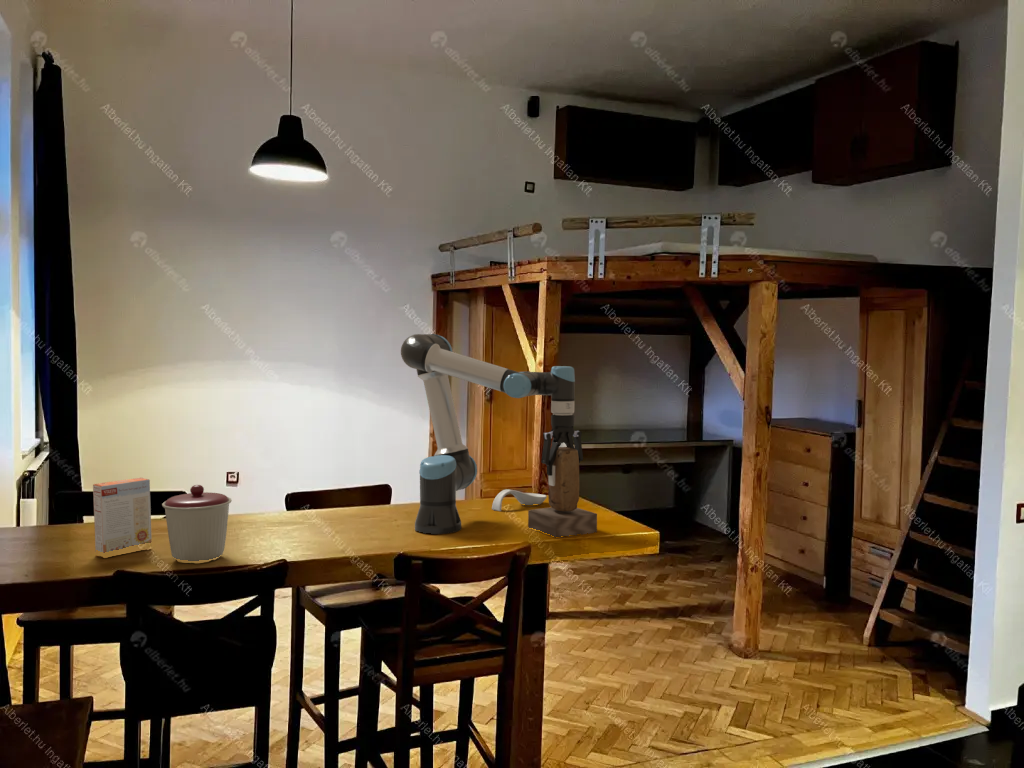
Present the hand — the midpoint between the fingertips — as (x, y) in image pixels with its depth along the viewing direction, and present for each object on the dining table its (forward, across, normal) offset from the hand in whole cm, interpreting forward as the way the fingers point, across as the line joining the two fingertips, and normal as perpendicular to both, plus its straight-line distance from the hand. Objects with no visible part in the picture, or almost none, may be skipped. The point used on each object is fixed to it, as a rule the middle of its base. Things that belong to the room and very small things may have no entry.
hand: (562, 484), depth 262 cm
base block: (+15, 0, 0) cm, 15 cm away
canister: (+16, -108, +23) cm, 111 cm away
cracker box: (+16, -125, +42) cm, 133 cm away
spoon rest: (+16, +9, +40) cm, 44 cm away
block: (+8, 0, 0) cm, 8 cm away
